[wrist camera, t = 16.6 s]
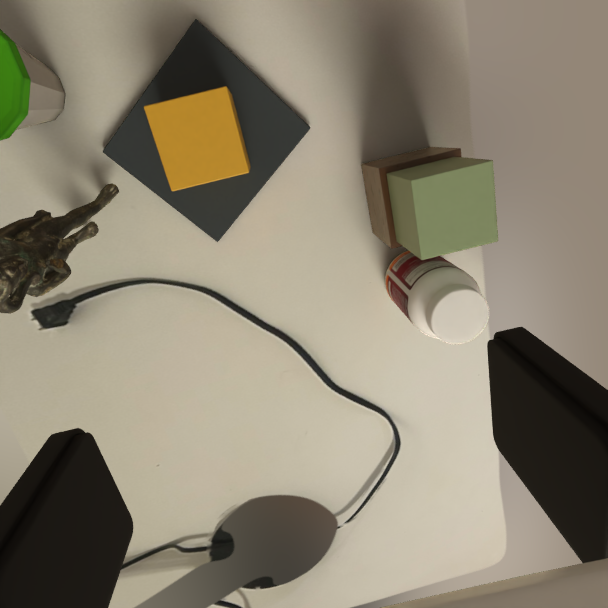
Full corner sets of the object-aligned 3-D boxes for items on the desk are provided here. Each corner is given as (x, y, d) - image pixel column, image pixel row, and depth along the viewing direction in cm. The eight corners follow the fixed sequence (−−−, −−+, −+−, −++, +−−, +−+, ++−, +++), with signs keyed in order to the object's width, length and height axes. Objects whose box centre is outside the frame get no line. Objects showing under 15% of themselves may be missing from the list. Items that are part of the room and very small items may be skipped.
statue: (149, 208, 40) (51, 271, 21) (105, 257, 41) (-26, 357, 22) (106, 169, 38) (-41, 199, 20) (61, 221, 39) (-118, 296, 21)
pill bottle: (432, 311, 46) (481, 360, 36) (375, 299, 45) (410, 347, 35) (452, 253, 44) (511, 288, 34) (394, 240, 43) (436, 272, 33)
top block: (231, 93, 37) (226, 85, 31) (251, 167, 39) (249, 172, 33) (161, 111, 37) (143, 106, 31) (184, 184, 39) (171, 191, 33)
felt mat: (196, 20, 35) (195, 18, 35) (309, 127, 39) (310, 127, 38) (104, 151, 38) (102, 151, 37) (218, 240, 41) (217, 242, 41)
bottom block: (430, 146, 40) (460, 148, 34) (438, 216, 42) (468, 230, 36) (360, 163, 40) (378, 168, 34) (372, 233, 42) (391, 249, 36)
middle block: (455, 156, 34) (493, 160, 29) (461, 225, 36) (498, 241, 31) (386, 173, 34) (410, 180, 29) (396, 241, 36) (421, 260, 31)
